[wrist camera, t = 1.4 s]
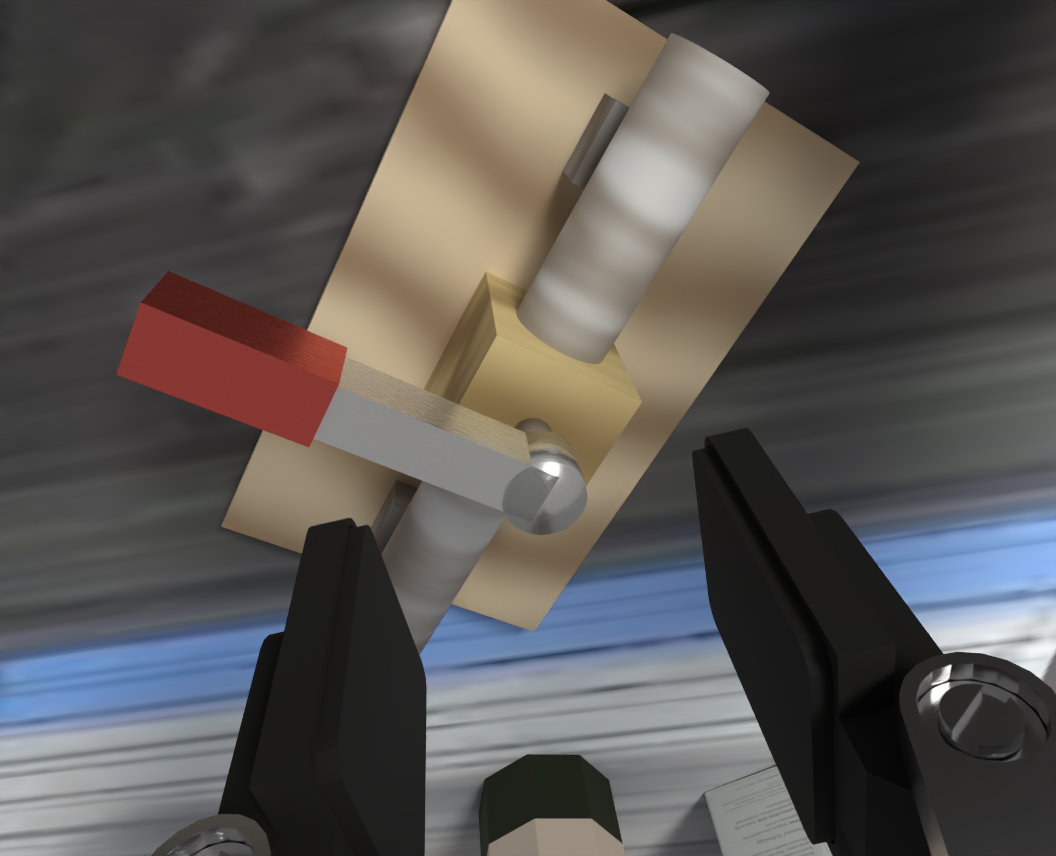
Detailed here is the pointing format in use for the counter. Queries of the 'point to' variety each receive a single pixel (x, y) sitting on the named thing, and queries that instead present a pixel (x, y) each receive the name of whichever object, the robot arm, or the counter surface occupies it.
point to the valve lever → (344, 404)
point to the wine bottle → (548, 810)
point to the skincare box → (759, 818)
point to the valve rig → (545, 281)
